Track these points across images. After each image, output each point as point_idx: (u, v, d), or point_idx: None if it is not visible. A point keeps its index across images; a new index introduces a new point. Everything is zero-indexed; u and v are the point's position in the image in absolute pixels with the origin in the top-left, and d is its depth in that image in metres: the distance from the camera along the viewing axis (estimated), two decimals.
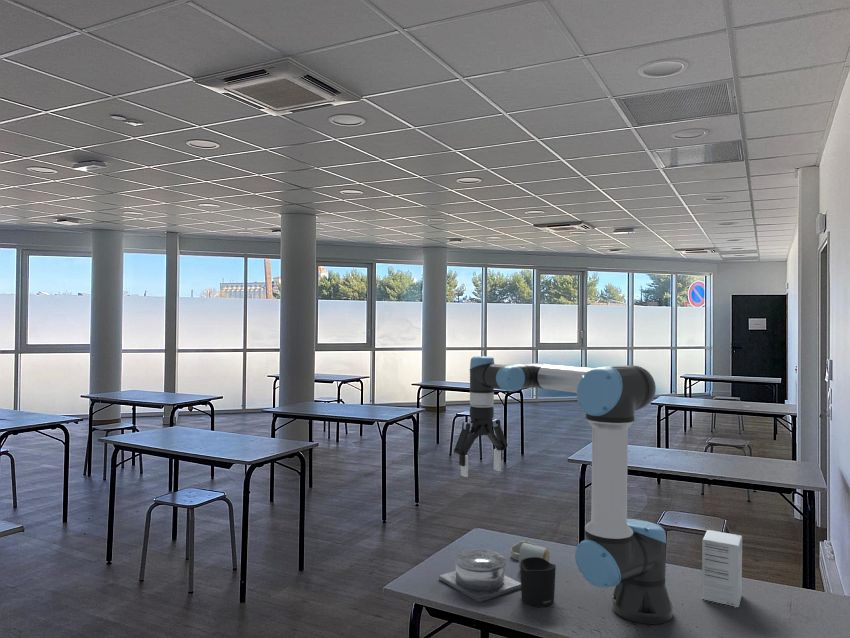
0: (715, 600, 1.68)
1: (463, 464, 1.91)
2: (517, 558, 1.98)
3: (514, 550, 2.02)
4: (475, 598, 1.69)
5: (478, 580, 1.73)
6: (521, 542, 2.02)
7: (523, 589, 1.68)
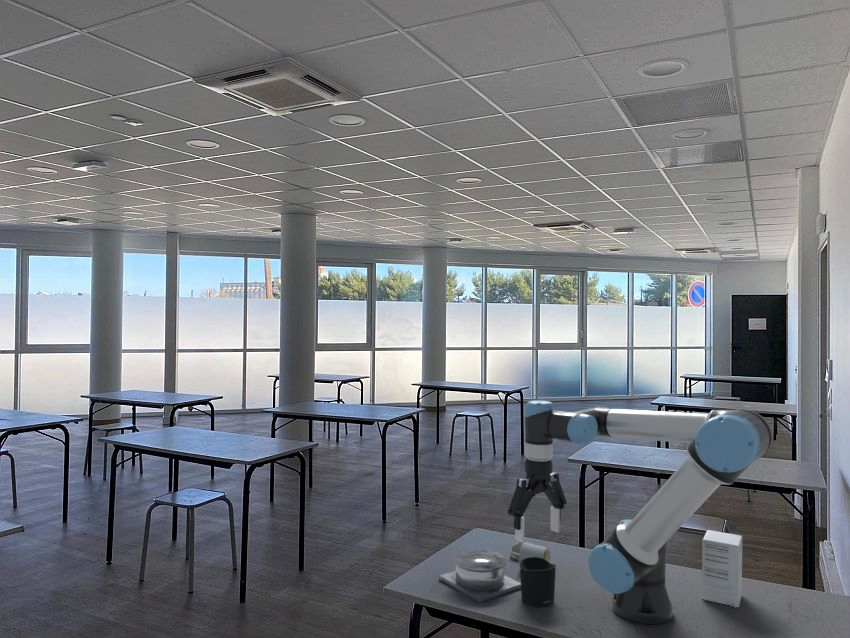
0: (715, 600, 1.68)
1: (518, 527, 1.64)
2: (517, 558, 1.98)
3: (514, 550, 2.02)
4: (475, 598, 1.69)
5: (478, 580, 1.73)
6: None
7: (523, 589, 1.68)
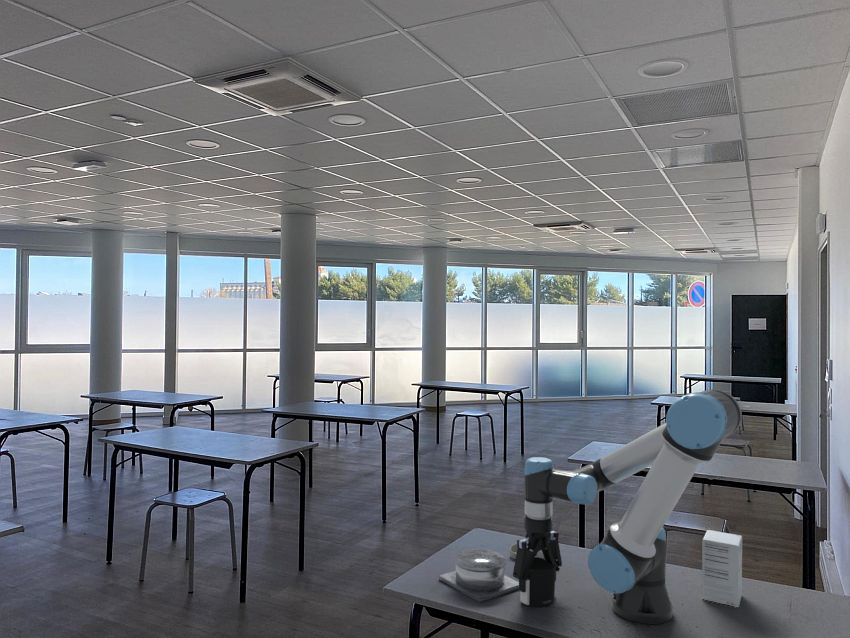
0: (715, 600, 1.68)
1: (524, 590, 1.65)
2: None
3: (513, 550, 2.02)
4: (475, 598, 1.69)
5: (478, 580, 1.73)
6: None
7: None
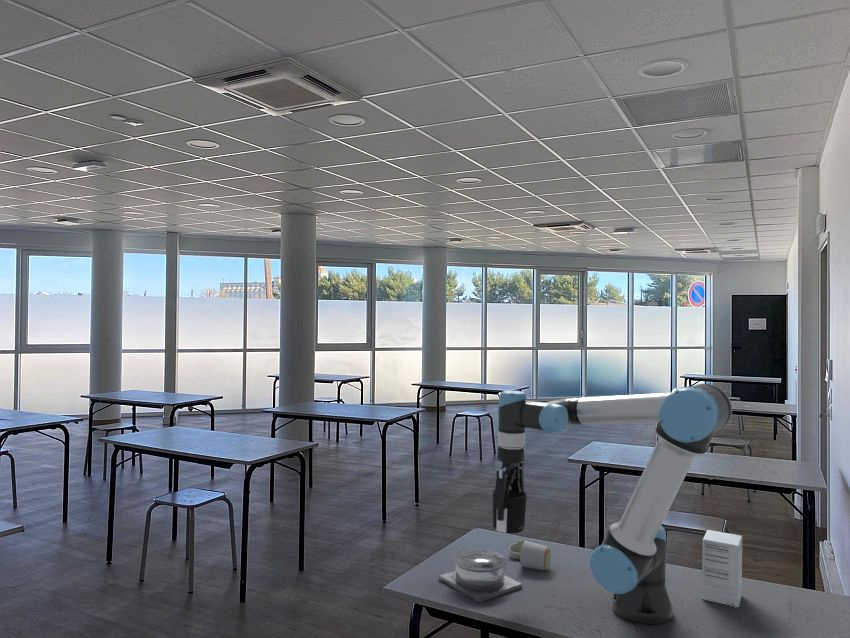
0: (715, 600, 1.68)
1: (502, 518, 1.69)
2: (516, 557, 1.98)
3: (512, 549, 2.02)
4: (475, 598, 1.69)
5: (478, 580, 1.73)
6: (519, 541, 2.02)
7: None
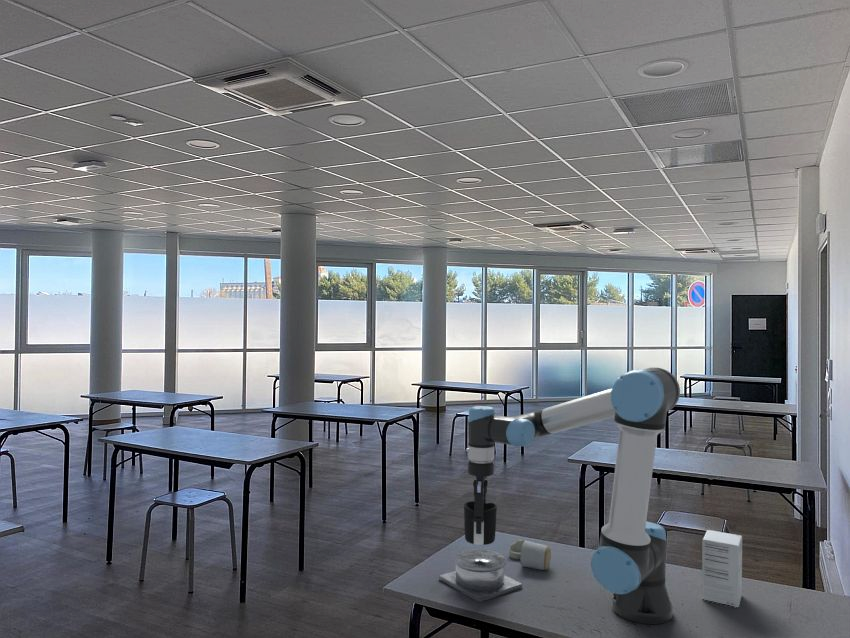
0: (715, 600, 1.68)
1: (481, 531, 1.74)
2: (516, 557, 1.99)
3: (512, 549, 2.02)
4: (475, 598, 1.69)
5: (478, 580, 1.73)
6: (519, 541, 2.02)
7: None
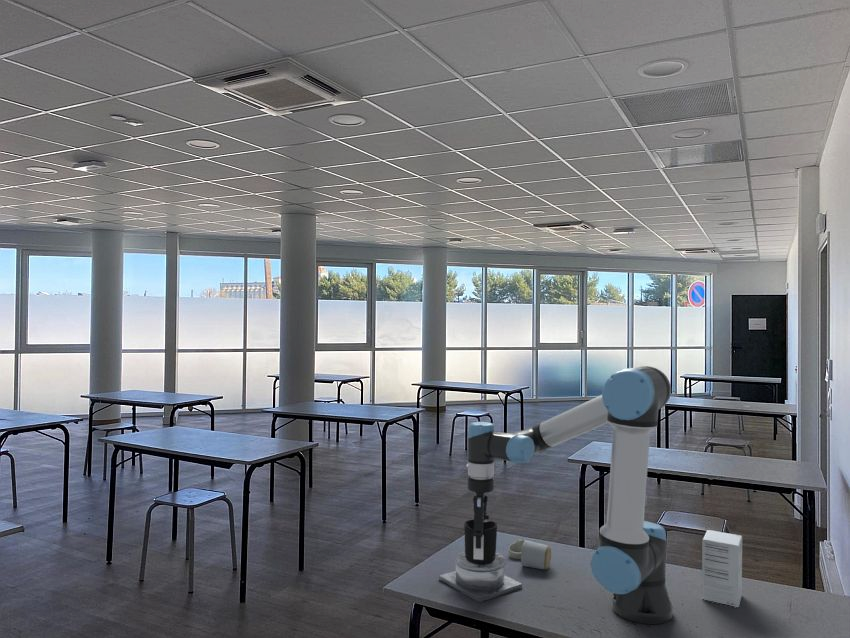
0: (715, 600, 1.68)
1: (480, 546, 1.72)
2: (516, 557, 1.99)
3: (511, 549, 2.03)
4: (475, 598, 1.69)
5: (478, 580, 1.73)
6: (518, 541, 2.03)
7: None
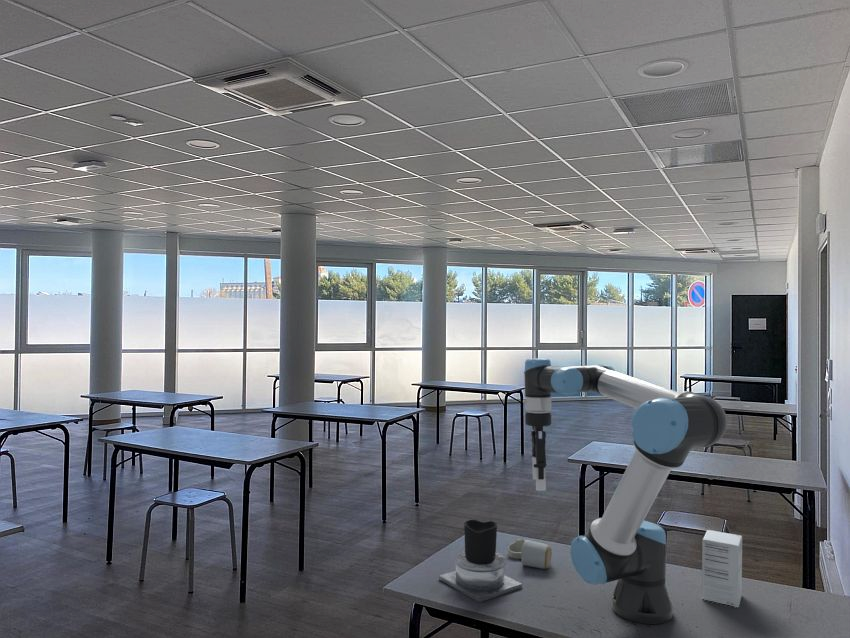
0: (715, 600, 1.68)
1: (543, 477, 1.73)
2: (515, 557, 1.99)
3: (510, 549, 2.03)
4: (475, 598, 1.69)
5: (478, 580, 1.73)
6: (517, 541, 2.03)
7: (475, 551, 1.76)
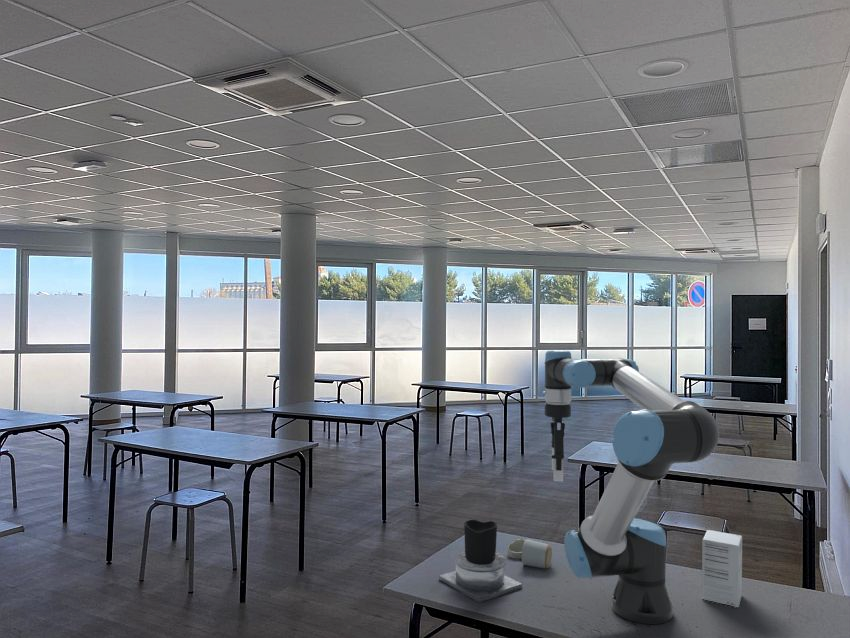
0: (715, 600, 1.68)
1: (561, 468, 1.75)
2: (515, 557, 1.99)
3: (510, 549, 2.03)
4: (475, 598, 1.69)
5: (478, 580, 1.73)
6: (517, 540, 2.03)
7: (475, 551, 1.76)
